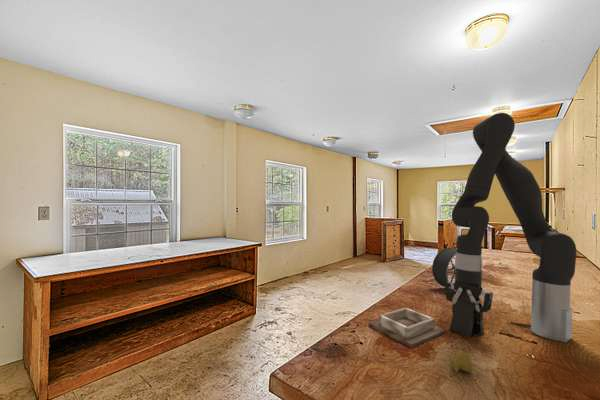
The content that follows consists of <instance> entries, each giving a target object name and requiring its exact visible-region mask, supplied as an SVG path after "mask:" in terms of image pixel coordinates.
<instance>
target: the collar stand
mask: <svg viewBox="0 0 600 400" xmlns="http://www.w3.org/2000/svg"><path fill="white" fill-rule="evenodd" d="M368 327H370V328H371V329H374V330H376V331H377V332H378V333H379V332H380V333H381V334H383V335H385V336H387V337H390V338H391V339H393V340H394V341H396V342H399V343H400V344H403V345H405V346H406V347H409V348H410V349H413V348H415V347H417V346H419V345H422V344H424V343H425V342H428V341H431V340H433V339H435V338H437V337H440V336H443V335H444V334H446V333H447V332H446V331H447V330H446V329H444V328H442V327H440V326H437V325H436V318H434V317H431V316H428V315H426V314H423V313H421V312H419V311H416V310H413V309H410V308H407V307H405V306H404V307H403V308H399V309H395V310H393V311H389V312H385V313H382V314H379V315H378V319H376V320H373V321H371V322H368Z"/></svg>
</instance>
